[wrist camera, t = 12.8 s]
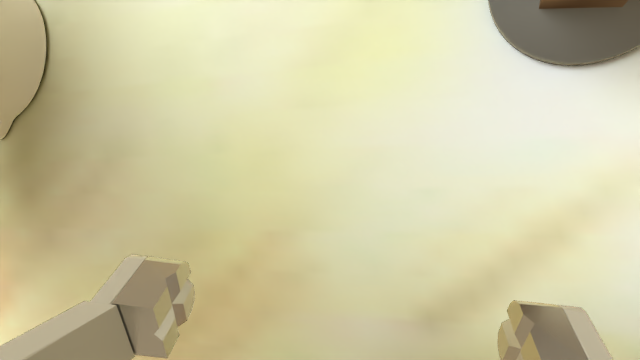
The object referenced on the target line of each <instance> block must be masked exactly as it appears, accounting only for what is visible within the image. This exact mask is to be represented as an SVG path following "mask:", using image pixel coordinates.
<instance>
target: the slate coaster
mask: <svg viewBox="0 0 640 360" xmlns="http://www.w3.org/2000/svg"><path fill="white" fill-rule="evenodd" d="M488 3H489V8H490V13H491V16H492V18H493V21H494V24H495V25H496V27H497V29H498V30H499V32H500V33H501V35H502V36H503V37H504V38H505V40H506V41H507V42H508V43H510V44H511V45H512V46H513V47H514V48H515V49H517V50H518V51H520V52H521V53H523V54H525V55H527V56H529V57H531V58H533V59H536V60H539V61H542V62H546V63H551V64H556V65H568V66H571V65H586V64H593V63H598V62H602V61H606V60H609V59H612V58H615V57H617V56H620V55H623V54H625V53H627V52H629V51H631V50H633V49H635V48H637V47H638V46H640V0H628V1H627V2H626V3H625V5H624V6H623V7H603V8H557V9H539V3H540V0H488Z"/></svg>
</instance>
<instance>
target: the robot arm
mask: <svg viewBox="0 0 640 360" xmlns="http://www.w3.org/2000/svg"><path fill="white" fill-rule="evenodd" d="M45 58H46V33H45V27H44V22H43V19H42V15H41V13H40V10H39V8H38V6H37V4H36V3H35V1H34V0H0V139H2V138H4V137H5V135H6V134H7V132H8V130H9V128H10V126H11V124H12V122H13V120H14V119H15V118H16V117H17V116H18V115H19V114H20V113H21V112H22V111H23V110H24V109H25V108H26V107H27V106H28V104H29V103H30V102H31V100H32V99H33V97H34V95H35V93H36V91H37V89H38V87H39V84H40V81H41V78H42V75H43V70H44V65H45ZM190 273H191V270H190V266H189V263H187V262H184V261H178V260H171V259H164V258H157V257H148V256H141V255H134V254H131V255H129V256H128V257H126V258H125V259H124V260H123V261H122V263H121V264H120V265H119V266H118V268H117V269H116V270H115V271H114V273H113V274H112V275H111V276H110V277H109V279H108V280H107V281H106V282H105V284H104V285H103V286H102V287H101V289H100V290H99V291H98V292H97V293H96V295H95V296H94V297H93V298H92V300H91V301H83V302H81V303H79V304H78V305H76V306H74V307H72V308H70V309H68V310H66V311H65V312H63V313H61V314H59V315H57V316H55V317H53V318H52V319H50V320H48V321H46V322H44V323H42V324H40V325H38V326H37V327H35V328H33V329H31V330H29V331H27V332H25V333H24V334H22V335H20V336H18V337H16V338H14V339H12V340H10V341H9V342H7V343H5V344H3V345H1V346H0V360H131V359H132V358H134V357H135V356H134V355H142V356H151V357H160V358H168V356H169V354H170V352H171V351H172V349H173V347H174V345H175V343H176V341H177V339H178V337H179V332H178V326H180V325H181V324H183V323H184V322H185V321H187V319H188V317H189V315H190V313H191V311H192V307H193V303H194V295H195V291H194V285H193V284H192V283H191V282H190V281H189V280H188V277H189V275H190ZM507 313H508V316H509V319H508V320H506V321H504V322H502V323H501V326H500V329H499V332H498V351H499V355H500V359H501V360H613V358H612V357H611V355H610V353H609V351H608V350H607V348H606V346H605V344H604V343H603V341H602V339H601V337H600V336H599V334H598V332H597V330H596V329H595V327H594V325H593V323H592V321H591V320H590V318H589V316H588V314H587V313H586V311H585V310H583V309H582V308H581V307H572V306H563V305H554V304H545V303H536V302H526V301H517V300H513V301H512V302H511V303H510V305H509V307H508V309H507Z"/></svg>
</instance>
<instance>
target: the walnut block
mask: <svg viewBox="0 0 640 360" xmlns="http://www.w3.org/2000/svg"><path fill="white" fill-rule="evenodd" d="M627 1H628V0H540V3H539V9H557V8H603V7H623V6H624V5H625V3H626V2H627Z"/></svg>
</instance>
